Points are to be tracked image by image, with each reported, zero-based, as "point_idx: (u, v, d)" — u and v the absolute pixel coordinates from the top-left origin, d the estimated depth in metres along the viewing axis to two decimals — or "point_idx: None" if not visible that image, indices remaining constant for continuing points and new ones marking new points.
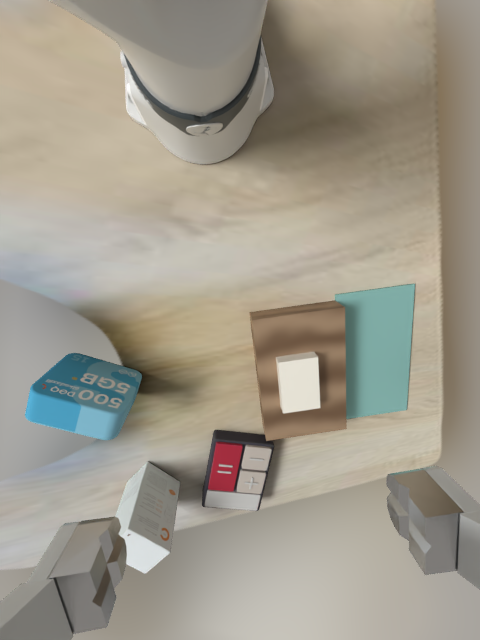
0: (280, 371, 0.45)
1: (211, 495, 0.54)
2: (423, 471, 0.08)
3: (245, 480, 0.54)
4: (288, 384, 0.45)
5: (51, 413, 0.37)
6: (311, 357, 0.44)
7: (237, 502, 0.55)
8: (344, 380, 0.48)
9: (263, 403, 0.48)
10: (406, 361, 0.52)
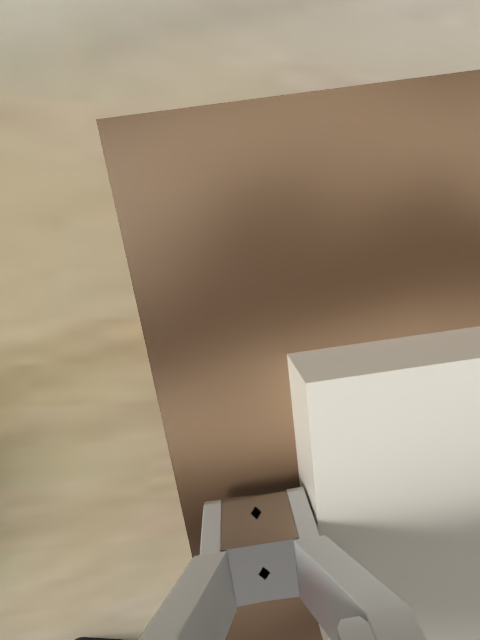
0: (318, 440, 0.07)
1: None
2: (284, 493, 0.08)
3: None
4: (368, 515, 0.07)
5: None
6: None
7: None
8: None
9: None
10: None
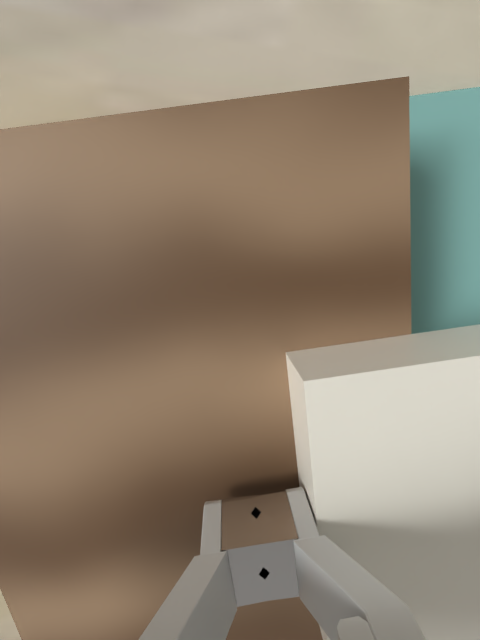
0: (317, 439, 0.07)
1: None
2: (284, 492, 0.08)
3: None
4: (367, 513, 0.08)
5: None
6: None
7: None
8: None
9: (20, 616, 0.10)
10: None
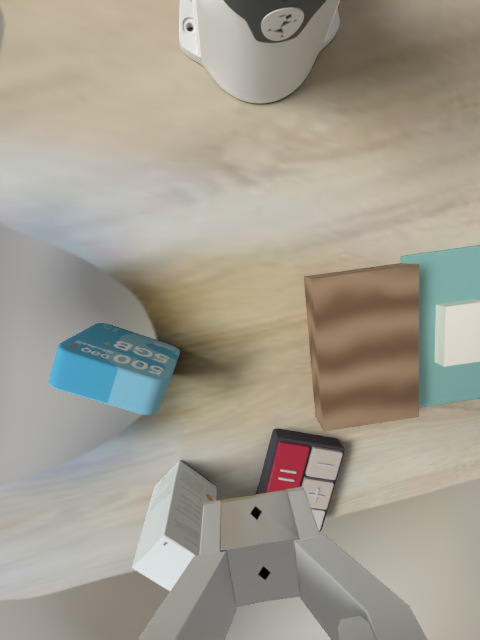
0: None
1: None
2: (284, 492, 0.08)
3: (309, 491, 0.46)
4: None
5: (81, 377, 0.31)
6: (443, 303, 0.43)
7: None
8: (417, 355, 0.41)
9: (322, 383, 0.41)
10: None
